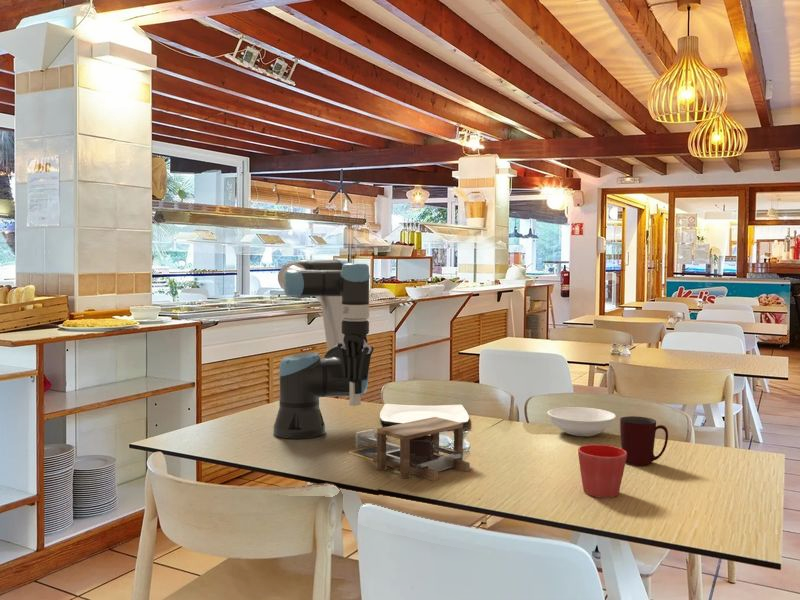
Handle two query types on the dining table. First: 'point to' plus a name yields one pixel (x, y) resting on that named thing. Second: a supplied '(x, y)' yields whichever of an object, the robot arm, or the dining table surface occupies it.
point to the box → (422, 448)
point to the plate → (422, 413)
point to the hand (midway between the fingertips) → (355, 405)
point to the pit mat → (367, 452)
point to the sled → (434, 464)
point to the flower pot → (601, 469)
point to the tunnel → (413, 431)
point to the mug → (640, 439)
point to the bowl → (581, 420)
